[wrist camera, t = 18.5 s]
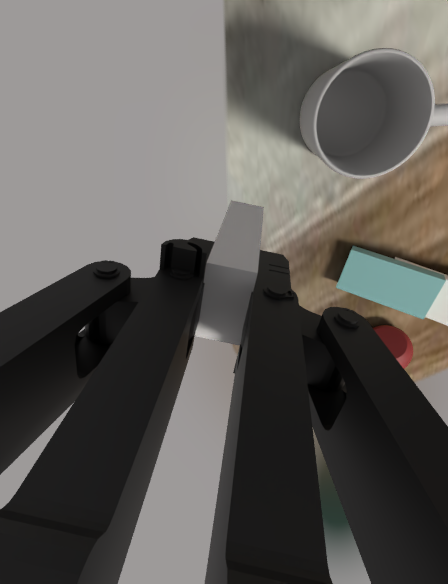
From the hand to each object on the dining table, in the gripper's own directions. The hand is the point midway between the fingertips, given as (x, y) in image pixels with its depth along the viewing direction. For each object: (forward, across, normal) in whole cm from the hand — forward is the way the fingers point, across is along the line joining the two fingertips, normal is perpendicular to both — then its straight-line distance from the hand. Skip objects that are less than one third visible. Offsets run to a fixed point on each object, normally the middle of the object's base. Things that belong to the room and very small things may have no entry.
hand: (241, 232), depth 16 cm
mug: (+25, +9, +5) cm, 27 cm away
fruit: (+24, +22, -21) cm, 38 cm away
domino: (+23, +13, -10) cm, 28 cm away
